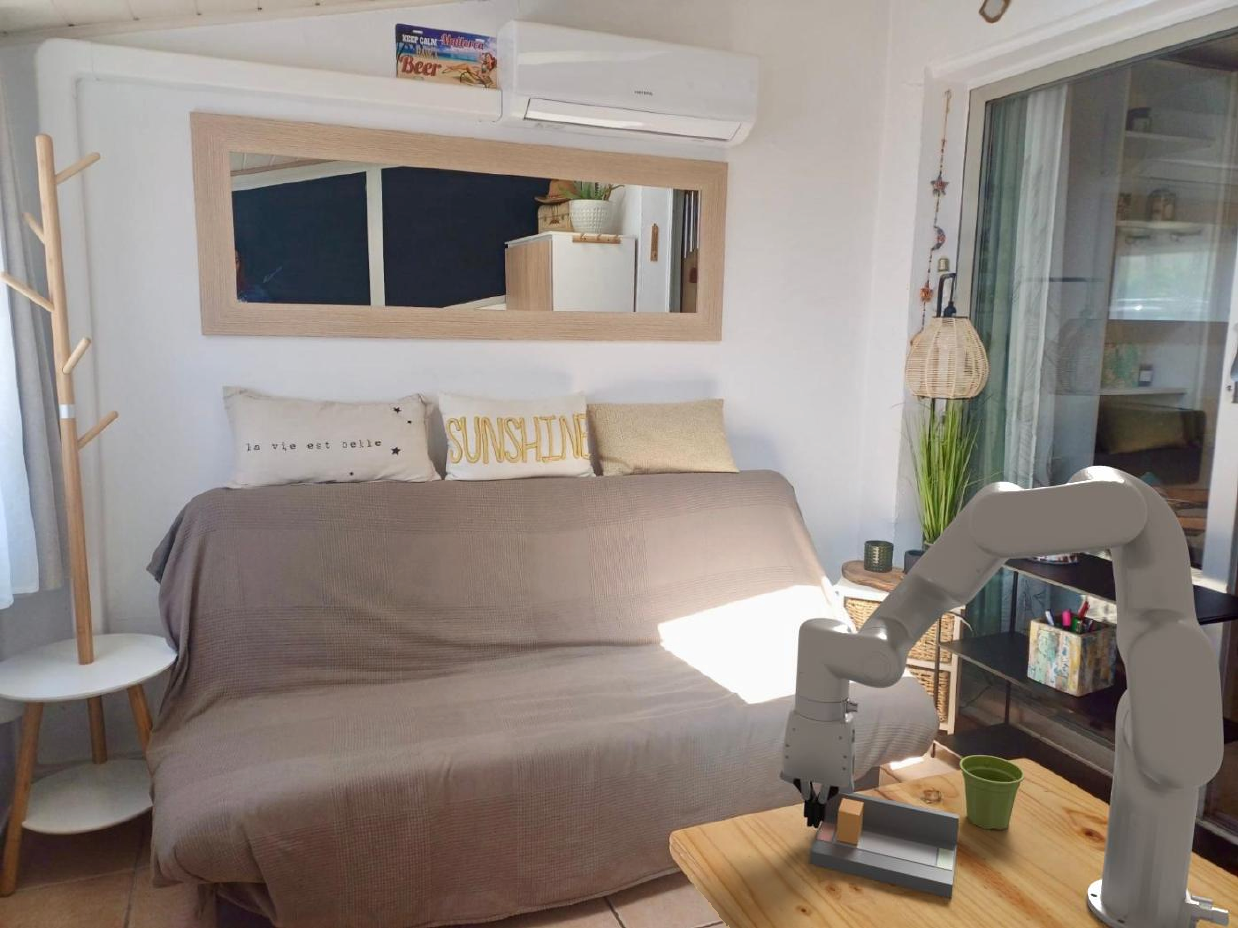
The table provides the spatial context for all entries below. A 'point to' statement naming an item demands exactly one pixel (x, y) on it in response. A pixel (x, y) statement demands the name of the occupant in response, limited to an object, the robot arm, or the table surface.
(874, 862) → the switch panel
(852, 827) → the handle
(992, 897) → the table surface
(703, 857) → the table surface
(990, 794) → the plant pot
